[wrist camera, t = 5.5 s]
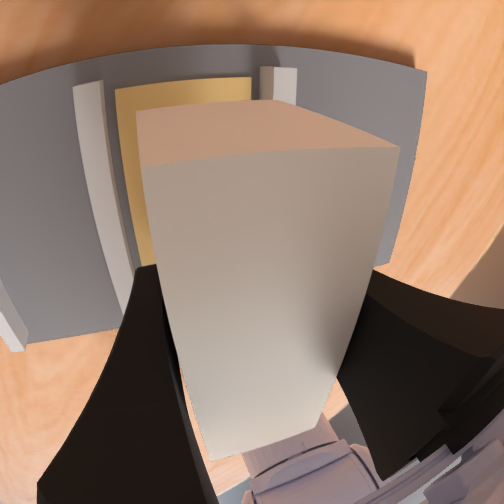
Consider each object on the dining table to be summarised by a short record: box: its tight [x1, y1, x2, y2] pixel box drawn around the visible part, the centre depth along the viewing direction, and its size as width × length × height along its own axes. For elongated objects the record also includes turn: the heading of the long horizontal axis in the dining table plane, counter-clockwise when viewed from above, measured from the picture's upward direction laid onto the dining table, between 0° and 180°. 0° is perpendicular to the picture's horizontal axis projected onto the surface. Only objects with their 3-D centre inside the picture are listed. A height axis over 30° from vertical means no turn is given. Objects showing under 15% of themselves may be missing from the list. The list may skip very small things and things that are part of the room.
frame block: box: [136, 100, 400, 461], centre depth 9 cm, size 10×4×5 cm, turn 178°
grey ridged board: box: [0, 44, 427, 352], centre depth 14 cm, size 14×27×2 cm, turn 88°
